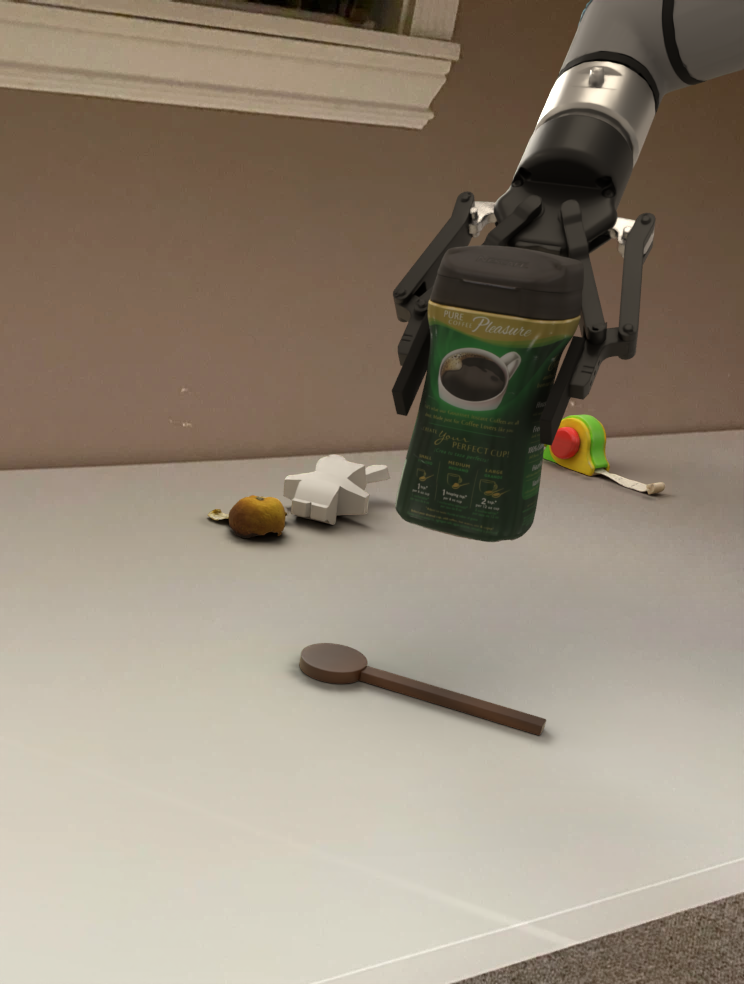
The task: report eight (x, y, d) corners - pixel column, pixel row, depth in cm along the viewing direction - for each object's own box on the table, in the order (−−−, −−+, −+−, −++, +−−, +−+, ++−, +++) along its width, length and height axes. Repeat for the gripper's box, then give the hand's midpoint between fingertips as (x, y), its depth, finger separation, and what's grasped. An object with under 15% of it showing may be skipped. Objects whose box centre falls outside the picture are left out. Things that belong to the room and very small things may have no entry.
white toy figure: (268, 479, 114) (323, 434, 125) (265, 524, 117) (319, 477, 128) (353, 499, 111) (402, 451, 122) (348, 545, 114) (396, 494, 125)
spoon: (550, 718, 82) (553, 706, 81) (533, 747, 77) (536, 734, 77) (315, 648, 89) (316, 636, 88) (288, 671, 85) (289, 659, 84)
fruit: (280, 514, 118) (283, 481, 116) (304, 542, 111) (308, 507, 109) (204, 514, 116) (207, 480, 114) (224, 543, 109) (227, 507, 107)
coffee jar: (542, 527, 81) (608, 255, 71) (507, 556, 75) (574, 262, 65) (419, 496, 85) (468, 235, 76) (377, 521, 79) (423, 240, 70)
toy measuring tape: (551, 450, 151) (562, 402, 148) (673, 493, 138) (688, 441, 134) (520, 455, 148) (531, 405, 145) (641, 498, 134) (657, 445, 131)
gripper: (428, 96, 79) (308, 353, 74) (756, 122, 70) (644, 416, 65) (438, 177, 85) (329, 418, 81) (739, 211, 77) (636, 483, 72)
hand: (470, 417), depth 73 cm, fingers closed on coffee jar, 9 cm apart
